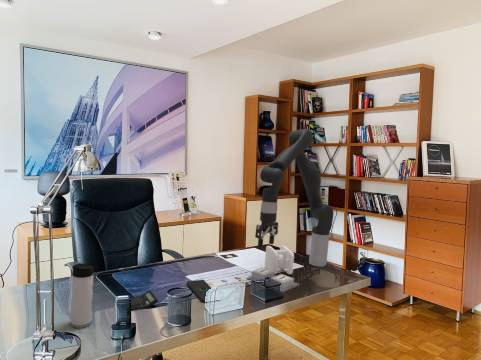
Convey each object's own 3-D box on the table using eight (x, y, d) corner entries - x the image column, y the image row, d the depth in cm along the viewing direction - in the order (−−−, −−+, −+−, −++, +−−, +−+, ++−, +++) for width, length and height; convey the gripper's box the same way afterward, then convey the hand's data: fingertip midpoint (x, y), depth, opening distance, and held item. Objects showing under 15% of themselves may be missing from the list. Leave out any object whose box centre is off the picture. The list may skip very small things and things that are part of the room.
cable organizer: (263, 266, 194) (265, 244, 193) (282, 265, 197) (284, 244, 195) (273, 276, 179) (275, 253, 178) (293, 276, 182) (295, 253, 181)
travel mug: (65, 324, 121) (67, 264, 119) (83, 317, 127) (85, 259, 125) (77, 330, 118) (79, 269, 116) (95, 323, 124) (97, 264, 122)
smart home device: (202, 299, 145) (185, 281, 162) (201, 304, 145) (185, 284, 163) (221, 297, 148) (203, 279, 166) (221, 301, 149) (203, 282, 166)
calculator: (120, 301, 141) (120, 293, 141) (150, 297, 147) (151, 289, 147) (126, 312, 133) (126, 304, 133) (157, 307, 139) (158, 299, 139)
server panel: (263, 273, 183) (264, 264, 183) (298, 285, 171) (299, 276, 170) (246, 279, 173) (247, 270, 173) (282, 292, 161) (283, 283, 160)
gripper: (271, 208, 180) (268, 241, 182) (252, 211, 169) (249, 246, 171) (284, 211, 175) (281, 244, 177) (266, 214, 164) (263, 250, 166)
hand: (265, 245), depth 174 cm, fingers open, 8 cm apart
